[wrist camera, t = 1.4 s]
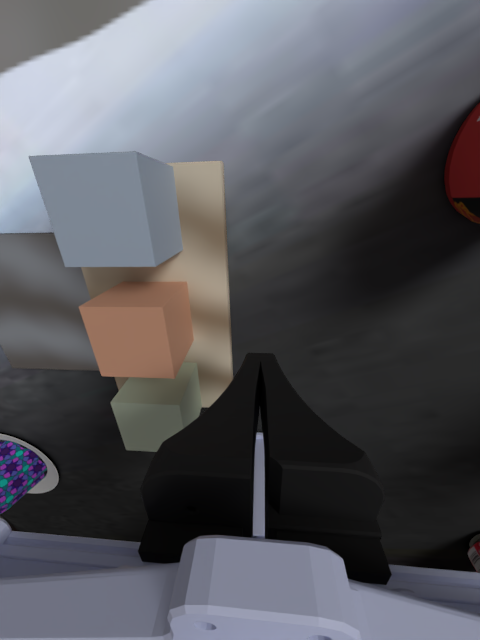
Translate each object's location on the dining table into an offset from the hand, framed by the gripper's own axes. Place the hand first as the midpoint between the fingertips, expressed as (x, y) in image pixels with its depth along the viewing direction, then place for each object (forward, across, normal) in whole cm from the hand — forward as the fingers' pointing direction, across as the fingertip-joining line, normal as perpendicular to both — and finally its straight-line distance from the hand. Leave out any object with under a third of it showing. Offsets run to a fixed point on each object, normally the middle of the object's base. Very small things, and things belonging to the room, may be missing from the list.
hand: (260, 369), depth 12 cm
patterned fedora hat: (+9, +32, +22) cm, 39 cm away
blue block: (+7, +8, -7) cm, 13 cm away
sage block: (+7, +8, +7) cm, 13 cm away
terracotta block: (+7, +8, 0) cm, 11 cm away
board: (+8, +12, 0) cm, 15 cm away
